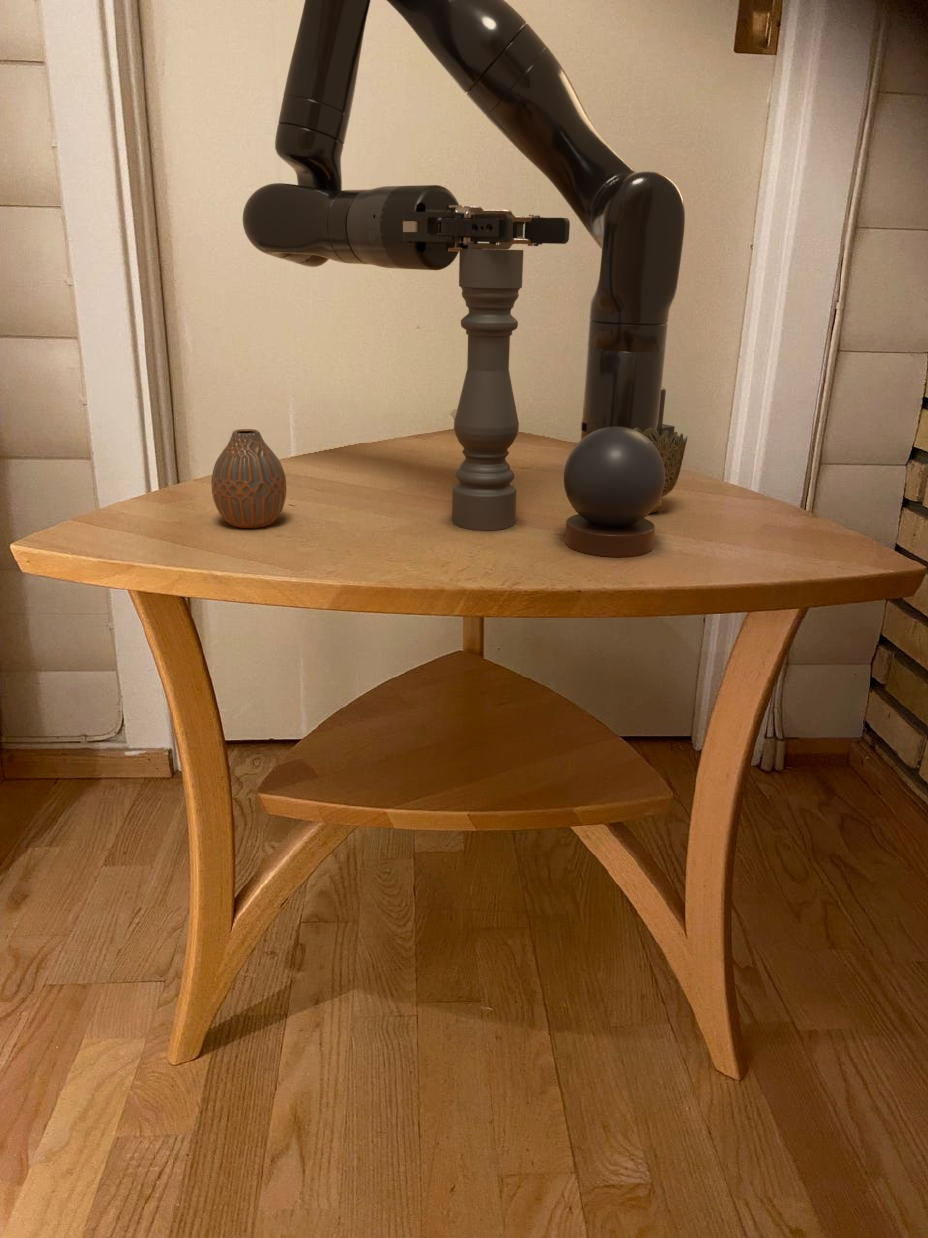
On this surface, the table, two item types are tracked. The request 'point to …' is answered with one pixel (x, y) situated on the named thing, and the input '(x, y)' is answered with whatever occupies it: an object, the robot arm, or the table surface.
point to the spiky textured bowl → (667, 456)
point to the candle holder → (487, 390)
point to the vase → (248, 481)
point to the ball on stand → (613, 492)
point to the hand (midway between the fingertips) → (540, 229)
